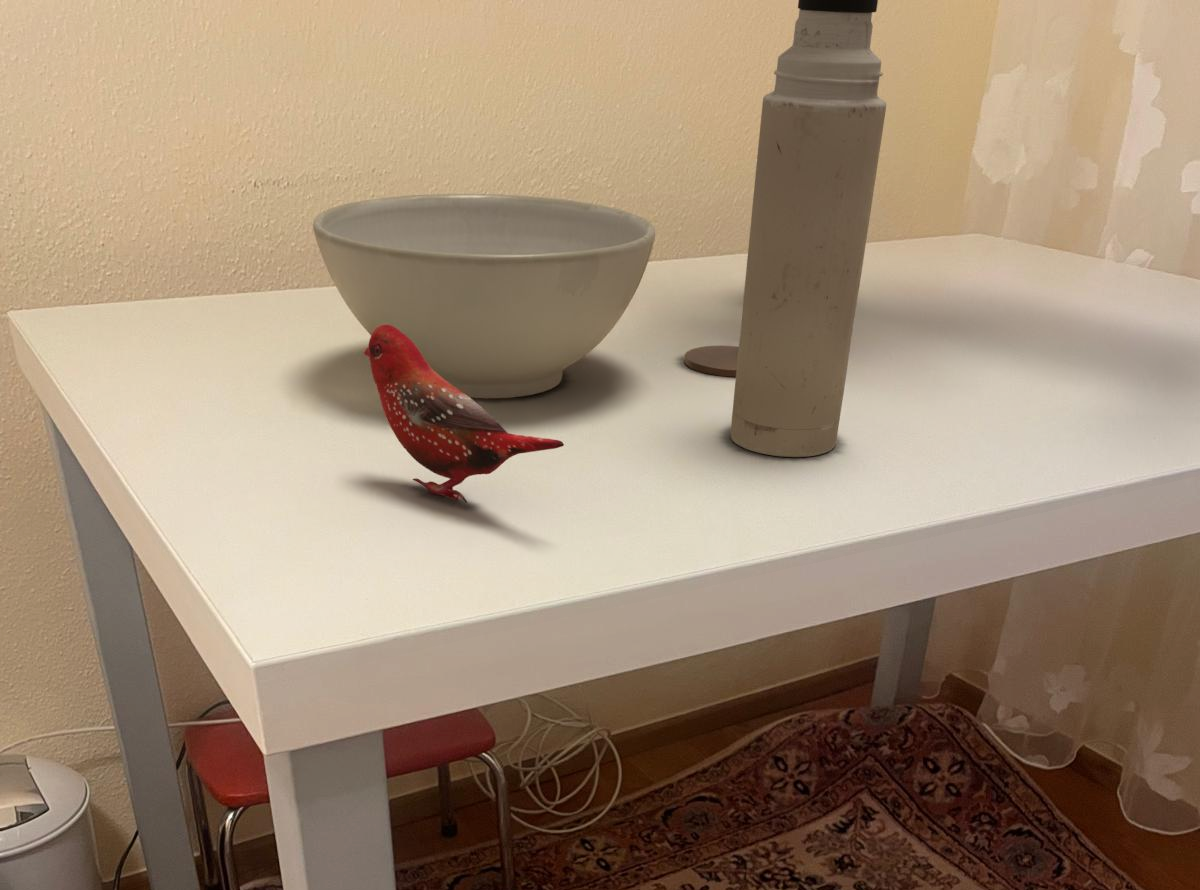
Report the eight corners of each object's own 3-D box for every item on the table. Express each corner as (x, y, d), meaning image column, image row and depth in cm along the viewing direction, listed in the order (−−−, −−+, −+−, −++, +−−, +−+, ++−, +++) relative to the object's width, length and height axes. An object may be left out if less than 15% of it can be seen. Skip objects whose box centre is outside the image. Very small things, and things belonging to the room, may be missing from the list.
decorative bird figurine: (389, 465, 83) (378, 314, 77) (578, 537, 74) (582, 371, 68) (357, 475, 81) (343, 321, 75) (546, 550, 72) (547, 381, 66)
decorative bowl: (705, 373, 104) (717, 221, 97) (518, 452, 86) (517, 272, 79) (467, 321, 116) (463, 183, 109) (258, 381, 98) (237, 220, 91)
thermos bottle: (708, 434, 91) (747, -11, 74) (780, 416, 95) (832, -9, 79) (785, 465, 86) (844, -6, 69) (857, 444, 90) (929, -4, 74)
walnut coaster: (788, 362, 108) (789, 355, 108) (748, 382, 102) (749, 375, 102) (710, 347, 111) (711, 340, 111) (668, 365, 106) (668, 358, 105)
